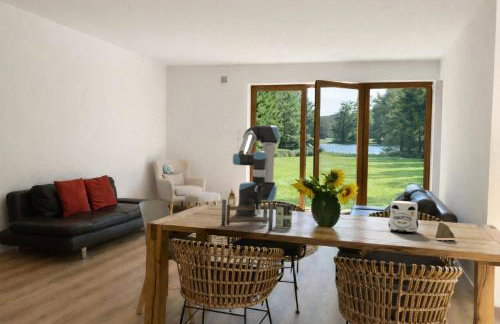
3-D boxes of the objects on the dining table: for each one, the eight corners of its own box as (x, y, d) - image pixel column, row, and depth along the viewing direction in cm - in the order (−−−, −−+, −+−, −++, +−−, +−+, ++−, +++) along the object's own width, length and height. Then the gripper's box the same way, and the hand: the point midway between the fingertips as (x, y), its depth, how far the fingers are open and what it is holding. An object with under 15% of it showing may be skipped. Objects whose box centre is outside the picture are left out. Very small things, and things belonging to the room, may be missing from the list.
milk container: (397, 235, 250) (399, 204, 249) (382, 228, 267) (384, 200, 266) (423, 234, 253) (425, 204, 252) (407, 228, 270) (409, 200, 269)
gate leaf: (225, 224, 260) (226, 204, 260) (265, 223, 268) (266, 204, 267) (226, 224, 258) (227, 205, 258) (267, 223, 266) (267, 204, 265)
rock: (456, 235, 242) (438, 231, 247) (458, 225, 237) (439, 221, 242) (452, 249, 235) (433, 244, 240) (454, 239, 230) (434, 234, 235)
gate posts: (222, 225, 262) (223, 199, 261) (272, 230, 252) (273, 203, 252) (220, 225, 260) (221, 199, 259) (271, 230, 250) (272, 203, 249)
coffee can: (292, 225, 267) (293, 203, 267) (290, 228, 257) (291, 205, 257) (276, 224, 270) (277, 202, 269) (273, 227, 259) (274, 204, 259)
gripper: (261, 177, 253) (260, 216, 254) (267, 176, 266) (266, 213, 267) (249, 176, 256) (248, 215, 257) (256, 175, 268) (254, 212, 269)
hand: (257, 214), depth 262 cm, fingers closed
